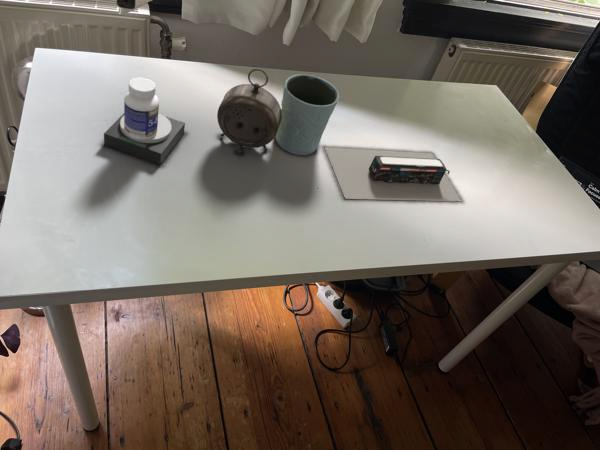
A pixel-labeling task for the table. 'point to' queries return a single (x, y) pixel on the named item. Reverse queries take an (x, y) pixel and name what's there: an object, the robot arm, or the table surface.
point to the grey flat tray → (390, 175)
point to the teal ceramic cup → (305, 112)
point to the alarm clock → (249, 115)
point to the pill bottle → (141, 109)
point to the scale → (147, 148)
